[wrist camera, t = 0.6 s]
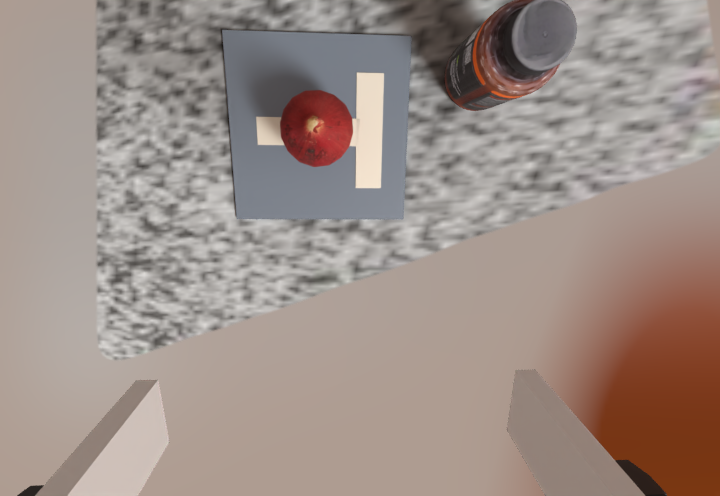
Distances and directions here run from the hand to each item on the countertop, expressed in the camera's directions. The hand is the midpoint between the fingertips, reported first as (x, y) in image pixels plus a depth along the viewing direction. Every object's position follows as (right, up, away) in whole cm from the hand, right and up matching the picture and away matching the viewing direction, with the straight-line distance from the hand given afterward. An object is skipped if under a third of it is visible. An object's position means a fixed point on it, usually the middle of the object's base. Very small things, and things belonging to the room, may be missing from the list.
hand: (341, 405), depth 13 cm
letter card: (-3, +16, +19) cm, 25 cm away
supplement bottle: (+11, +21, +19) cm, 30 cm away
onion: (-3, +16, +19) cm, 25 cm away
